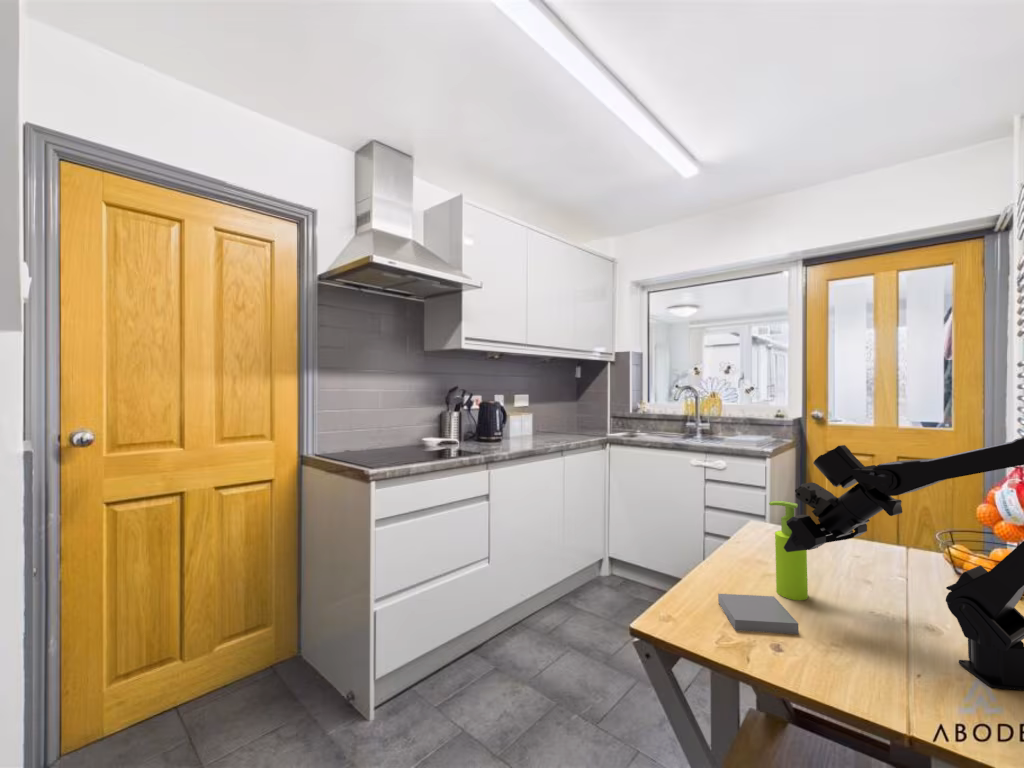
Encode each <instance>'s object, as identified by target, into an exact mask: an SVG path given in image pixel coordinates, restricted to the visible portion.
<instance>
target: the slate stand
mask: <svg viewBox="0 0 1024 768" xmlns="http://www.w3.org/2000/svg"><path fill="white" fill-rule="evenodd" d="M717 598H718V599H717V600H718V602H719V603H718V605H719V604H720V605H719V607H720V608H721V607H722V608H721V610H722V609H723V610H722V611H723V613H724V612H725V613H724V615H725V614H726V615H725V616H726V618H727V620H728V621H729V624H730V625H731V626H732V627H733V629H734V631H740V632H757V633H771V634H772V633H774V634H788V635H791V634H792V635H799V623H798V621H797V620H796V619H795V618H794V617H793V616H792V614H791V613H790V612H789V611H788V610H787V609H786V608H785V607H784V606H783V604H781V603H780V601H779V599H777V598H776V597H775V596H774V595H773V596H772V595H756V594H755V595H753V594H733V593H718V594H717Z"/></svg>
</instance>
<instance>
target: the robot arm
mask: <svg viewBox="0 0 1024 768" xmlns="http://www.w3.org/2000/svg"><path fill="white" fill-rule="evenodd" d="M812 464H813V465H814V466H815V467H816V469H818V471H819V472H820V473H821V474H822V475H823V476H824V477H825V478H826V479H827V481H829V483H830V484H831V485H832V486H833V487H834V488H837V487H840V486H841V487H842V488H843V489H847V488H850V487H851V486H853V487H851V488H850V489H849V490H847V491H845V492H844V493H843V494H841V495H840V496H839V497H837V496H835V495H834V494H833V493H832V492H830V490H827V489H826V488H824V487H822V486H821V485H819V484H817V483H816V482H806V483H805V482H804V483H801V485H799V487H798V488H795V490H794V492H795V498H796V499H797V500H799V501H800V502H801V503H802V504H805V505H807V506H809V507H811V508H812V509H813V510H812V511H811V513H813V515H814V516H815V517H817V518H818V519H817V520H818V523H816V522H815V521H814V520H813V518H812V517H811V516H810V515H806V514H799V515H794V517H792V518H790V519H789V520H788V521H786V523H787V526H788V527H789V528H790V529H791V531H792V533H791V535H790V537H789V539H788V541H787V542H786V544H785V546H784V549H785V550H786V552H792V551H802V550H807V551H811V550H815V549H818V548H819V547H821V546H823V545H824V544H826V543H827V544H828V543H833V542H840V541H846V540H850V539H854V538H856V537H860V536H862V535H863V534H864V533H867V532H868V523H869V522H870V519H871V518H873V517H874V516H876V515H877V514H879V513H880V512H882V511H885V513H886V514H887V515H888V516H890V517H894V516H896V515H900V514H903V507H902V503H903V501H902V500H901V499H896V498H894V497H896V496H901V495H904V494H910V493H913V492H917V491H920V490H923V489H925V488H928V487H931V486H933V485H936V484H939V483H940V482H943V481H946V480H950V479H956V478H961V477H964V476H965V477H966V476H971V475H976V474H983V473H988V472H993V471H998V470H1003V469H1009V468H1015V467H1019V466H1024V436H1023V437H1019V438H1018V437H1017V438H1016V439H1014V440H1012V441H1008V442H1004V443H999V444H995V445H994V444H993V445H990V446H986V447H981V448H977V449H972V450H968V451H963V452H959V453H954V454H950V455H949V454H948V455H946V456H941V457H937V458H924V459H923V458H921V459H920V458H919V459H906V460H896V461H890V462H886V463H885V462H884V463H879V464H877V465H875V464H873V465H866V466H865V465H864V463H862V462H861V461H860V460H859V459H858V458H857V457H856V456H855V455H854V453H852V451H851V450H850V448H848V447H847V445H845V444H842V445H838V446H835V448H833V449H831V450H829V451H826V452H825V453H823V454H820V455H819V456H818V457H816V458H815V460H813V463H812ZM945 589H946V590H948V591H949V592H948V593H947V595H946V596H945V602H946V605H947V608H948V610H949V611H950V613H951V615H952V616H953V617H955V618H956V620H957V622H958V624H959V627H960V629H961V631H962V634H963V636H964V637H965V638H966V639H967V653H968V654H967V655H968V656H967V657H968V659H958V664H959V665H960V666H962V667H963V668H965V669H966V670H967V671H968V672H970V673H971V674H972V675H974V676H975V677H977V678H978V679H979V680H980V681H981V682H983V683H985V685H987V686H989V687H990V688H994V689H1002V690H1005V689H1006V690H1015V691H1016V690H1017V691H1024V642H1023V641H1022V640H1024V615H1023V614H1022V613H1021V612H1019V610H1018V609H1016V606H1017V604H1018V603H1019V602H1020V600H1021V599H1022V596H1023V595H1024V540H1023V541H1022V542H1020V544H1019V545H1017V546H1016V547H1015V548H1014V549H1013V550H1011V552H1010V553H1008V554H1007V555H1006V556H1004V558H1003V559H1002V560H1000V562H998V563H997V564H996V565H995V566H994V567H993V568H991V570H987V569H985V567H984V566H983V565H978V566H976V567H973V568H970V569H968V570H966V571H964V572H962V574H961V575H960V576H959V578H958V579H957V581H956V582H955V583H953V584H951V585H948V586H946V587H945Z"/></svg>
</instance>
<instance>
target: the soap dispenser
mask: <svg viewBox="0 0 1024 768" xmlns="http://www.w3.org/2000/svg"><path fill="white" fill-rule="evenodd" d="M768 505H769V506H782V507H785V509H784V512H785V515H783V516H781V517H780V521H781V523H780V524H781V530H777V531H775V532H774V539H775V540H774V542H775V543H774V544H775V550H774V551H775V583H776V588H775V589H776V591H775V592H776V593H777V594H778V595H779V596H780V595H781V596H780V597H782V596H783V598H785V597H786V599H788V600H793V601H804V600H808V597H809V596H808V595H809V593H808V590H809V589H808V554H807V553H808V552H807V551H808V550H802V551H792V552H786V550H785V549H784V546H785V544H786V542H787V541H788V539H789V537H790V535H791V533H792V531H791V529H790V528H789V527H788V526H787V523H786V521H788V520H789V519H790V518H792V517H794V516H795V509H797V508H798V506H799V505H798V503H794V502H792V501H791V502H789V501H784V500H774V501H772V500H771V501H770V502H769V503H768Z"/></svg>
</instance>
